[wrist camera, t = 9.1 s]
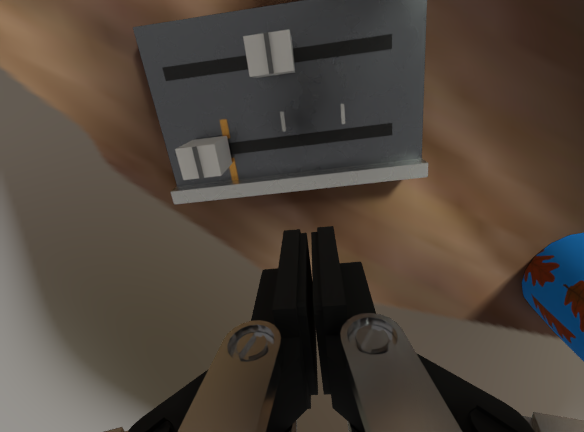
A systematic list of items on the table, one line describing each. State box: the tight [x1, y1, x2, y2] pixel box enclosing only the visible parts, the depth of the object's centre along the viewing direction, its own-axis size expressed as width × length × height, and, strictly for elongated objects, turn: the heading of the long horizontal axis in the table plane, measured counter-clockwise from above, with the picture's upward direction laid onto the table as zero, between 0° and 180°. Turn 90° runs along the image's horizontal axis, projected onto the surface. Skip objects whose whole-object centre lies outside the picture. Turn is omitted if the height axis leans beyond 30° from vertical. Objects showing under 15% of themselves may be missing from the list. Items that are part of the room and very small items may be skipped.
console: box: [133, 0, 428, 204], centre depth 26 cm, size 22×14×4 cm, turn 97°
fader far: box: [175, 136, 232, 180], centre depth 25 cm, size 3×2×4 cm
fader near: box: [243, 29, 295, 78], centre depth 22 cm, size 3×2×4 cm
